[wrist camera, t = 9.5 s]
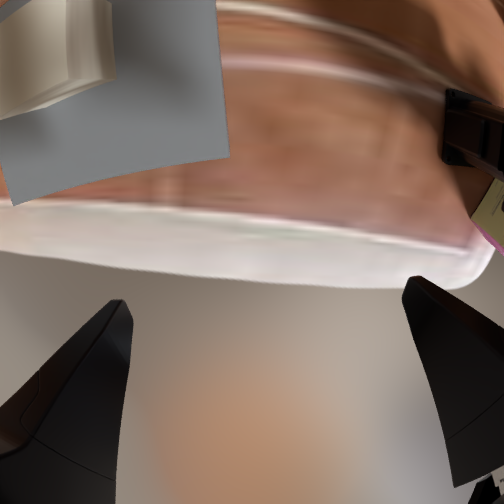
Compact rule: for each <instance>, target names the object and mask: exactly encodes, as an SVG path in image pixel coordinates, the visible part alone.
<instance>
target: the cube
mask: <svg viewBox="0 0 504 504" xmlns="http://www.w3.org/2000/svg"><path fill="white" fill-rule="evenodd" d="M116 79H117V75H116V66H115V56H114V43H113V27H112V3H110V2H108V1H107V0H31V1H30V2H28V3H27V4H25V5H24V6H23V7H21V8H20V9H18V10H17V11H16V12H14V13H13V14H12V15H10V16H9V17H8V18H6V19H5V20H4V21H3V22H1V23H0V120H3V119H6V118H9V117H12V116H15V115H19V114H22V113H26V112H30V111H33V110H37V109H41V108H46V107H48V106H50V105H52V104H55V103H57V102H59V101H61V100H63V99H66V98H68V97H70V96H73V95H75V94H78V93H80V92H83V91H85V90H88V89H90V88H93V87H96V86H99V85H101V84H104V83H107V82H110V81H113V80H116Z"/></svg>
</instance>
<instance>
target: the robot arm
mask: <svg viewBox="0 0 504 504" xmlns="http://www.w3.org/2000/svg"><path fill="white" fill-rule="evenodd" d="M451 92H452V96H451ZM447 157H448V159H447ZM442 161H443V162H444V163H446V164H448V165H458V166H467V167H476V168H479V169H480V170H482V171H484V172H486V173H488V174H489V175H491V176H493V177H494V178H496V179H498V180H500V181H501V182H503V183H504V108H501V107H497V106H494V105H492V103H491V102H488V101H486V100H483V99H481V98H478V97H476V96H473V95H470V94H468V93H465V92H462V91H459V90H456V89H453V88H448V89H447V90H446V113H445V130H444V142H443V152H442ZM501 210H502V211H503V212H504V199H503V202H502V206H501ZM402 304H403V307H404V310H405V313H406V316H407V320H408V323H409V326H410V330H411V333H412V336H413V340H414V342H415V345H416V347H417V350H418V353H419V356H420V359H421V361H422V364H423V367H424V370H425V373H426V375H427V379H428V382H429V385H430V388H431V391H432V394H433V398H434V401H435V404H436V408H437V411H438V414H439V419H440V422H441V426H442V430H443V434H444V438H445V444H446V448H447V453H448V458H449V463H450V469H451V474H452V481H453V486H454V488H456V487H458V486H461V485H464V484H466V483H468V482H471V481H473V480H475V479H477V478H480V477H482V476H484V475H486V474H488V473H490V472H491V473H490V474H488V475H487V476H486V477H485V478H483V479H482V480H480V481H479V482H477V483H476V486H475V488H474V491H473V493H472V496H471V498H470V500H469V502H468V504H504V329H503V328H502V327H501V326H498V325H497V324H496V323H494V322H493V321H492V320H490V319H489V318H487V317H486V316H484V315H483V314H481V313H480V312H478V311H477V310H475V309H474V308H472V307H471V306H469V305H467V304H466V303H464V302H463V301H461V300H459V299H458V298H456V297H455V296H453V295H452V294H450V293H448V292H447V291H445V290H444V289H442V288H440V287H439V286H437V285H435V284H434V283H432V282H430V281H429V280H427V279H425V278H424V277H422V276H412V277H410V278H409V279H408V281H407V283H406V286H405V289H404V291H403V294H402ZM132 334H133V318H132V315H131V313H130V311H129V309H128V307H127V304H126V302H125V301H124V300H122V299H113V300H111V301H109V302H108V303H107V304H106V305H105V306H104V307H103V308H102V309H101V310H99V311H98V312H97V313H96V314H95V315H94V316H93V317H92V318H91V319H90V320H89V321H88V322H87V323H85V324H84V325H83V326H82V327H81V328H80V329H79V330H78V331H77V332H76V333H75V334H74V335H73V336H72V337H71V338H70V339H69V340H68V341H67V342H66V343H65V344H63V346H61V347H60V348H59V349H58V350H57V351H56V352H55V354H53V355H52V356H51V357H50V358H49V360H47V361H46V362H45V363H44V365H42V366H41V367H40V369H39V370H38V371H37V372H36V373H35V374H34V375H33V376H32V377H31V378H30V379H29V380H28V381H27V382H26V383H25V384H24V385H23V386H22V387H21V388H20V389H19V390H18V391H17V392H16V393H15V394H14V395H13V396H12V397H10V398H9V399H8V400H7V401H6V402H5V403H4V404H3V405H2V406H1V407H0V504H115V496H116V481H115V480H116V470H117V455H118V445H119V435H120V427H121V418H122V410H123V404H124V397H125V391H126V385H127V378H128V373H129V367H130V356H131V344H132Z"/></svg>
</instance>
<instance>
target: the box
mask: <svg viewBox="0 0 504 504" xmlns="http://www.w3.org/2000/svg"><path fill="white" fill-rule="evenodd" d="M503 199H504V183H503V182H501V181H500V180H498V179H496V178H495V179H494V181H493V183H492V185H491V186H490V188H489V190H488V192H487V193H486V195H485V197H484V198H483V200H482V202H481V203H480V205H479V206H478V208H477V210H476V211H475V213H473V215H472V217H471V220H472V222H473V223H474V224H475V225H476V227H477V228H478V229H479V230H480V232H481V233H482V234H483V236H484V237H485V239H486V240H487V241H488V242H490V243H491V244H492V245H493V246H494V247H495V248H496V249H497V250H498V251H499V252H500V253H501V254H502V255H503V256H504V212H503V211H502V210H501V206H502V202H503Z"/></svg>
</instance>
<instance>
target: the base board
mask: <svg viewBox="0 0 504 504" xmlns="http://www.w3.org/2000/svg"><path fill="white" fill-rule="evenodd" d="M30 1H31V0H9V1H8V2H6V3H5V4H4V5H3V6H1V7H0V23H1V22H3V21H4V20H5V19H6V18H8V17H9V16H10V15H12V14H13V13H14V12H16V11H17V10H18V9H20V8H21V7H23V6H24V5H25V4H27V3H28V2H30ZM107 1H108V2H110V3H112V27H113V43H114V56H115V66H116V75H117V79H116V80H113V81H110V82H107V83H104V84H101V85H99V86H96V87H93V88H90V89H88V90H85V91H83V92H80V93H78V94H75V95H73V96H70V97H68V98H66V99H63V100H61V101H59V102H57V103H55V104H52V105H50V106H48V107H46V108H41V109H37V110H33V111H30V112H26V113H22V114H19V115H15V116H12V117H9V118H6V119H3V120H0V163H1V167H2V171H3V174H4V178H5V182H6V185H7V188H8V191H9V195H10V198H11V201H12V204H13V206H15V205H18V204H21V203H24V202H27V201H30V200H33V199H36V198H39V197H42V196H45V195H48V194H51V193H55V192H58V191H61V190H65V189H68V188H72V187H76V186H79V185H83V184H87V183H91V182H95V181H99V180H103V179H107V178H111V177H116V176H120V175H125V174H130V173H134V172H139V171H144V170H150V169H155V168H160V167H166V166H172V165H178V164H185V163H191V162H198V161H205V160H213V159H221V158H230V146H229V136H228V126H227V117H226V107H225V97H224V87H223V76H222V66H221V55H220V45H219V34H218V22H217V11H216V0H107Z"/></svg>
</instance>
